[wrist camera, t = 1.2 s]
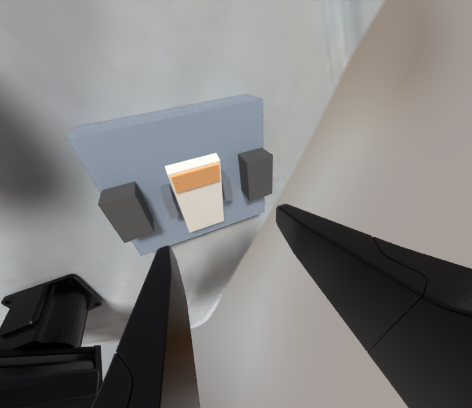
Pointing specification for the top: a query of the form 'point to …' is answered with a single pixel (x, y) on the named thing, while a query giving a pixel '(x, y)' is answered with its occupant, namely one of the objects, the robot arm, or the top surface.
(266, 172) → the plug right
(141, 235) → the plug left
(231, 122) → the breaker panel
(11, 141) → the top surface
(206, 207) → the breaker paddle
